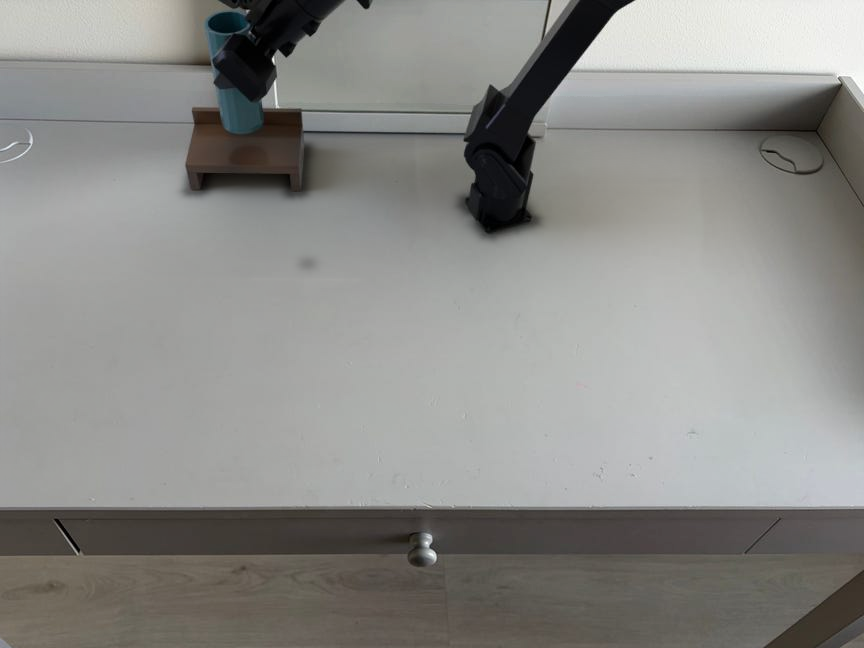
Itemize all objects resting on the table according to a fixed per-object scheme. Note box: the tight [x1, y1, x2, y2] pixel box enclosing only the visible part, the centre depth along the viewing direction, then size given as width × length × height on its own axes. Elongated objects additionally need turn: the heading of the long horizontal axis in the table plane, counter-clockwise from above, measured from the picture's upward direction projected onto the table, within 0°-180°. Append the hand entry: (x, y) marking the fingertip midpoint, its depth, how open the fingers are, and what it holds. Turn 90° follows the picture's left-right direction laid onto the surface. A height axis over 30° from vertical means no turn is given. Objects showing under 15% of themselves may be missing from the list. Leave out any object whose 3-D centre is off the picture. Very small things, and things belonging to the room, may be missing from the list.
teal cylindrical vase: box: [204, 9, 264, 134], centre depth 92 cm, size 5×5×13 cm
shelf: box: [184, 106, 305, 192], centre depth 100 cm, size 14×9×6 cm, turn 90°
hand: (225, 72), depth 92 cm, fingers closed on teal cylindrical vase, 5 cm apart
